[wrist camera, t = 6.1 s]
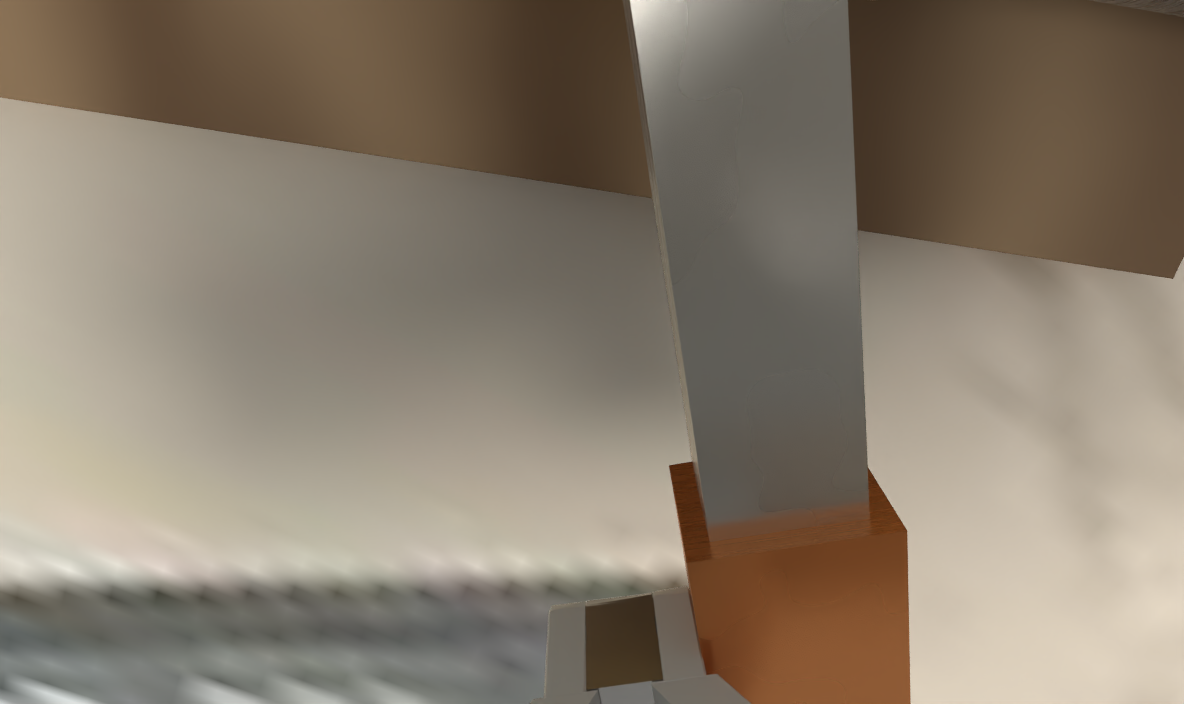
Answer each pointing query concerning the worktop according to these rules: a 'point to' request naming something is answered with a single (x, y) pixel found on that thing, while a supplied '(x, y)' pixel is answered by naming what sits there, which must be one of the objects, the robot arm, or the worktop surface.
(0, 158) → the worktop surface
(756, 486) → the valve lever
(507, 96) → the mount board
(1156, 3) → the valve body
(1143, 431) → the worktop surface
